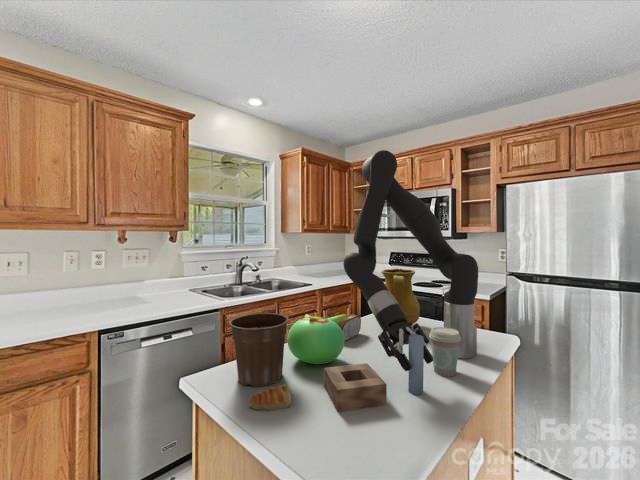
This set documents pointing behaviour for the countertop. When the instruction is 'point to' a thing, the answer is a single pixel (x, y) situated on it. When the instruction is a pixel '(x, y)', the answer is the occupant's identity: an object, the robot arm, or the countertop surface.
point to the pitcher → (403, 292)
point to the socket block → (354, 387)
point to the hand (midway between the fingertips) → (420, 365)
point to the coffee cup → (445, 350)
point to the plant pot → (259, 347)
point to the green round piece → (316, 339)
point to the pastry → (271, 398)
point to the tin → (350, 326)
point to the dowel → (416, 364)
